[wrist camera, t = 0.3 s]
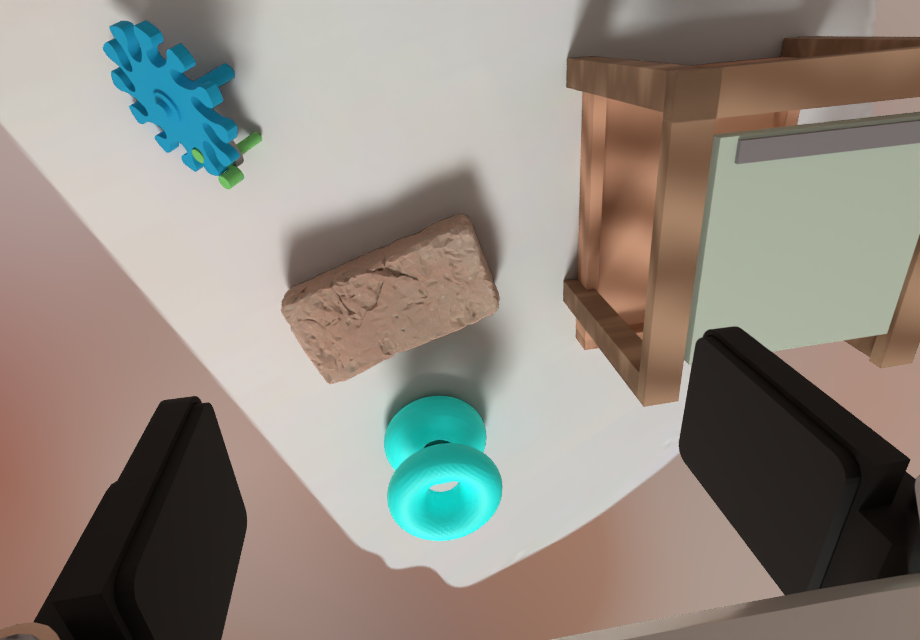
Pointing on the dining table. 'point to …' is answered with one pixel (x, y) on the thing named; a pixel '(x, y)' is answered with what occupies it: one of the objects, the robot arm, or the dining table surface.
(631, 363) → the frame
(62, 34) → the dining table surface
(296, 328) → the brick
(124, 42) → the gear
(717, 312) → the trapdoor
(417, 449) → the donuts
